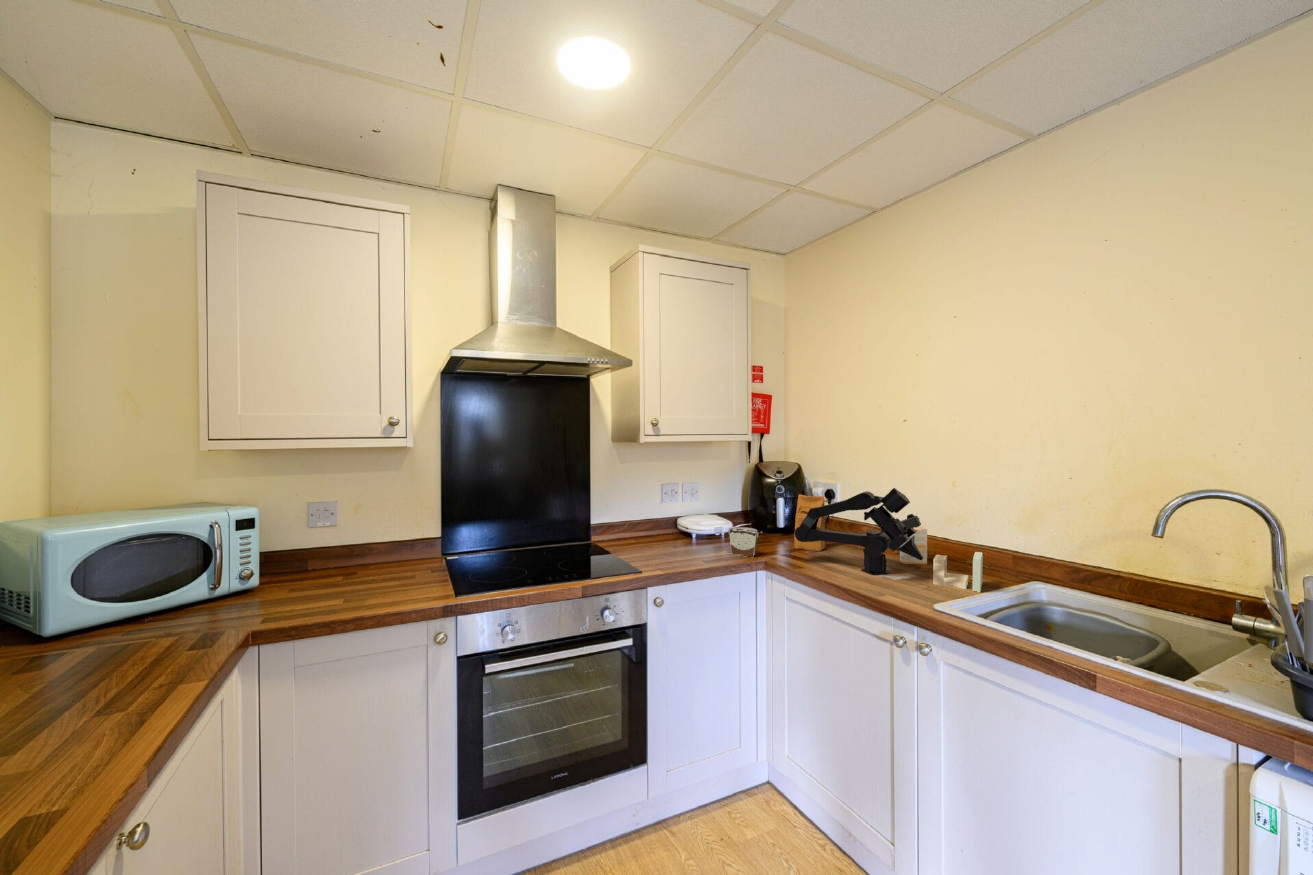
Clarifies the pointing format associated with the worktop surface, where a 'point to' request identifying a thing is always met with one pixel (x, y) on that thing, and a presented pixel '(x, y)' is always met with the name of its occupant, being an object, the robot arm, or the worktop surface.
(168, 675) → the worktop surface
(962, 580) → the stepped block
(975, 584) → the board
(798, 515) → the coffee package
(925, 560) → the supplement box
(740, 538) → the food container
